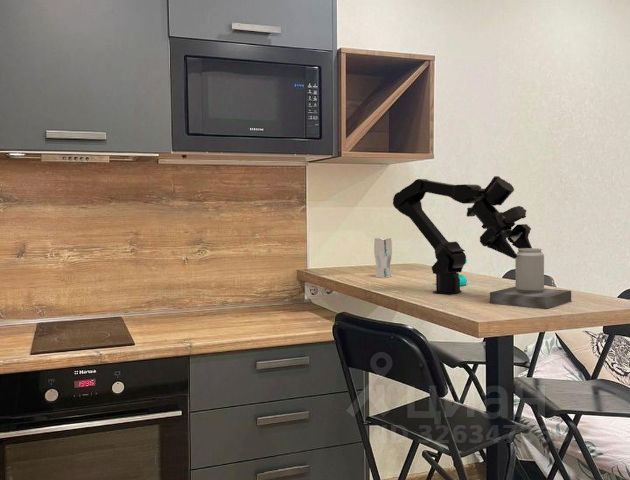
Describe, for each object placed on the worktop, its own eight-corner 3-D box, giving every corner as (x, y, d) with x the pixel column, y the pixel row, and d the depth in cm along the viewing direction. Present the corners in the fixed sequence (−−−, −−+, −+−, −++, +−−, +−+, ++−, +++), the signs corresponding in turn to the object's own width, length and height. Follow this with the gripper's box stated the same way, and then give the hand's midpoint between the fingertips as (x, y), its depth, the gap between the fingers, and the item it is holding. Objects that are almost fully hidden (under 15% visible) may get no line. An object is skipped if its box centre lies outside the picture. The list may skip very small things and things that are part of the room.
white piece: (396, 276, 231) (395, 238, 230) (382, 278, 227) (381, 239, 227) (384, 275, 237) (383, 237, 236) (370, 276, 233) (370, 238, 232)
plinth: (489, 303, 165) (489, 292, 165) (516, 296, 176) (516, 286, 176) (546, 309, 154) (546, 297, 154) (571, 301, 165) (571, 290, 165)
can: (530, 288, 170) (530, 247, 169) (550, 292, 163) (550, 248, 162) (509, 290, 167) (509, 248, 166) (528, 294, 160) (528, 249, 160)
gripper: (489, 197, 163) (526, 238, 155) (524, 196, 175) (560, 235, 167) (464, 225, 169) (499, 266, 161) (500, 223, 181) (534, 261, 173)
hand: (524, 256), depth 166 cm, fingers open, 9 cm apart
